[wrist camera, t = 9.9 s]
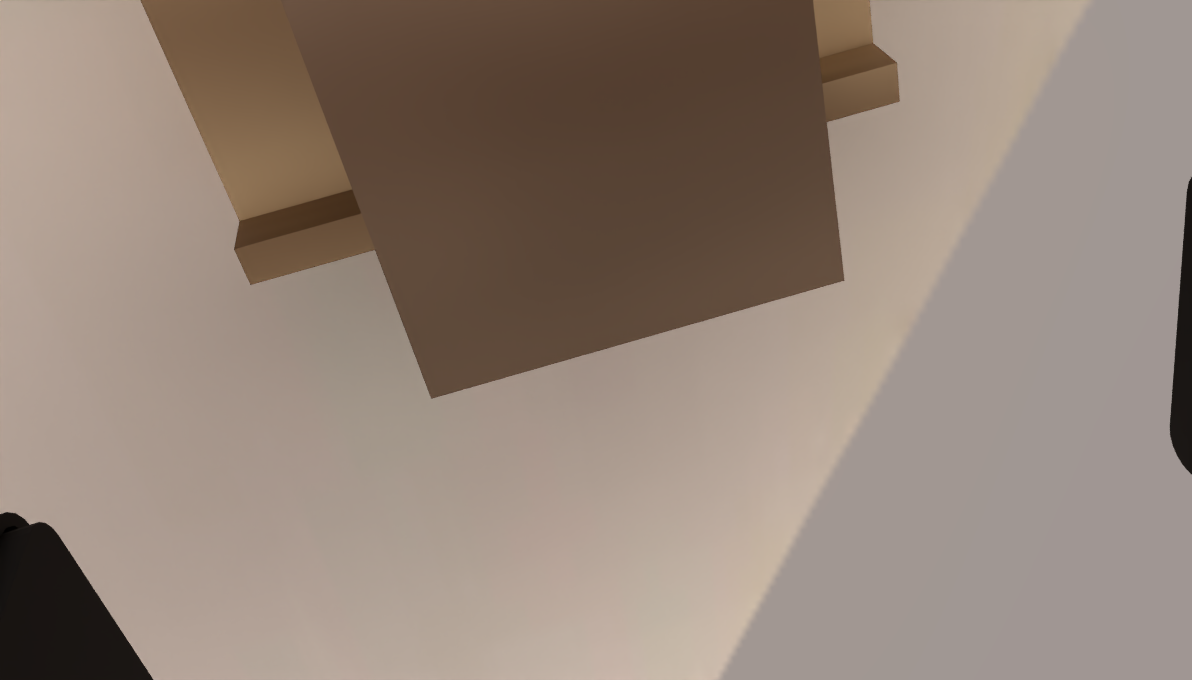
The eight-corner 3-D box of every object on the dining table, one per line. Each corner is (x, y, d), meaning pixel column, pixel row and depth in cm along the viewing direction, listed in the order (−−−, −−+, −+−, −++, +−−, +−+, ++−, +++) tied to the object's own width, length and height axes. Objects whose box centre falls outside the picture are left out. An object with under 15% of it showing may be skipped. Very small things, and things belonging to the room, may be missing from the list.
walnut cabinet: (686, 96, 23) (850, 333, 15) (418, 171, 22) (449, 448, 15) (610, -321, 19) (782, -278, 11) (282, -233, 18) (232, -129, 11)
